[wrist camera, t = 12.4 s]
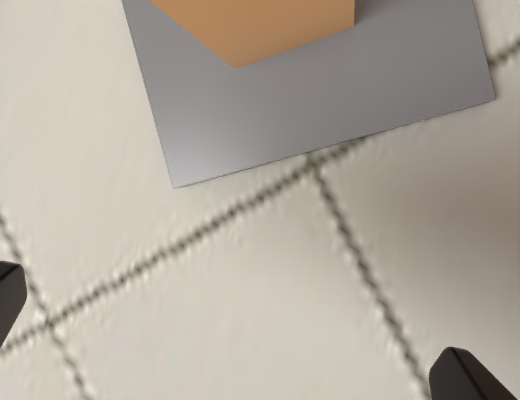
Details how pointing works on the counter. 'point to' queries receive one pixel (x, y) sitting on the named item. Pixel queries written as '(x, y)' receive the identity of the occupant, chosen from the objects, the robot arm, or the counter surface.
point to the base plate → (306, 84)
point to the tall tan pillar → (258, 24)
